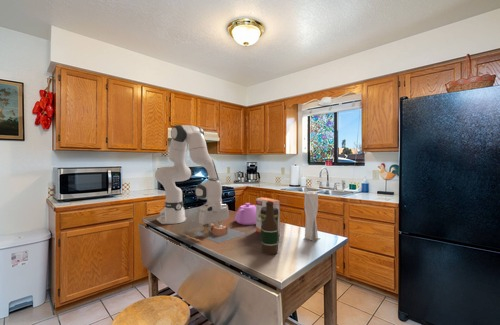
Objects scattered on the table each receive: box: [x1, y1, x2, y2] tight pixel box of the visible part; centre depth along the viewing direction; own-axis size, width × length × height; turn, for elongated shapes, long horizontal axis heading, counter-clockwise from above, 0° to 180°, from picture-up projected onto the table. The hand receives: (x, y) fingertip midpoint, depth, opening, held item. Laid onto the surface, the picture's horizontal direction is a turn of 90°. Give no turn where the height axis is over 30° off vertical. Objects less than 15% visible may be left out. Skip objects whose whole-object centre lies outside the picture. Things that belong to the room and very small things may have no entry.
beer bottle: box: [261, 201, 279, 256], centre depth 115 cm, size 8×8×24 cm
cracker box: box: [255, 196, 281, 237], centre depth 140 cm, size 14×6×21 cm, turn 42°
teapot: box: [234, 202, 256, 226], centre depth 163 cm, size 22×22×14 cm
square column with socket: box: [209, 223, 228, 236], centre depth 142 cm, size 16×6×4 cm, turn 47°
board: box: [192, 227, 248, 244], centre depth 140 cm, size 24×21×1 cm
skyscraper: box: [303, 188, 321, 243], centre depth 133 cm, size 8×8×28 cm
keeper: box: [202, 224, 209, 238], centre depth 136 cm, size 6×3×7 cm, turn 17°
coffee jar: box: [260, 207, 280, 242], centre depth 129 cm, size 10×8×19 cm
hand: (214, 229), depth 142 cm, fingers open, 5 cm apart
